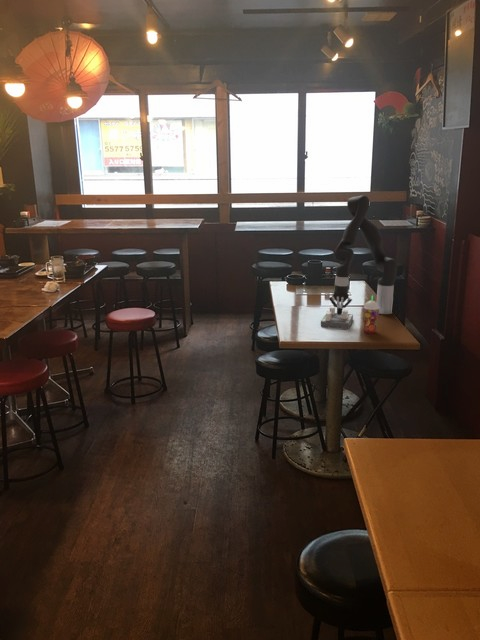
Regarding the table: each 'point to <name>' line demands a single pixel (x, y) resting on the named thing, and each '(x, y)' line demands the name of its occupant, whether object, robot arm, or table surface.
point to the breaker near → (328, 316)
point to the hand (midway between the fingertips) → (339, 314)
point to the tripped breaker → (345, 314)
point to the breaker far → (332, 310)
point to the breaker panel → (337, 321)
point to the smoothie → (370, 316)
